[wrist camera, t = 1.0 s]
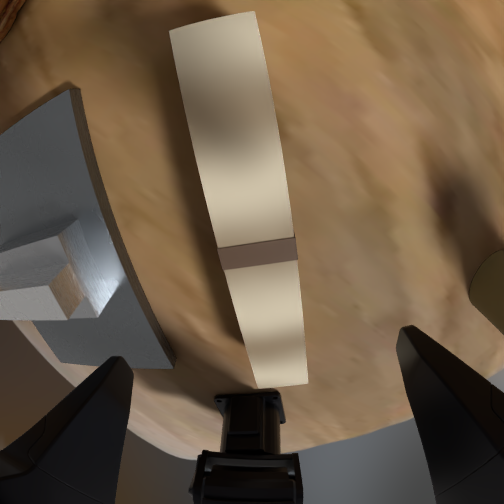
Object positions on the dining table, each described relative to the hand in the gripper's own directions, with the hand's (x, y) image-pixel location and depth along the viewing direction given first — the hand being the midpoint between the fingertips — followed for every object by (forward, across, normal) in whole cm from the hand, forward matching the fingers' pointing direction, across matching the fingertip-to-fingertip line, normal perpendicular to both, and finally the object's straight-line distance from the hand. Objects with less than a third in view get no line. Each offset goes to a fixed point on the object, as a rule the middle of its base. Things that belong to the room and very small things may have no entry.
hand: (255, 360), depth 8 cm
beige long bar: (+10, 0, 0) cm, 10 cm away
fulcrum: (+10, +16, 0) cm, 19 cm away
